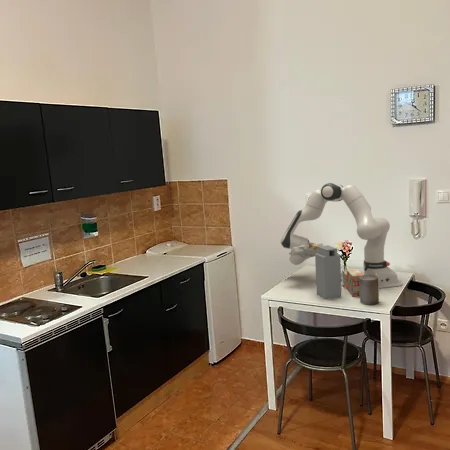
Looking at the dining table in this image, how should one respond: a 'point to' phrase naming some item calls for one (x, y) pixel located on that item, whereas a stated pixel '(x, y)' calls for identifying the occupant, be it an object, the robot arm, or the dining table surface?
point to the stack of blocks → (352, 281)
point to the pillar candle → (369, 289)
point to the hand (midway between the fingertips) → (312, 245)
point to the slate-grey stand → (328, 272)
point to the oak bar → (314, 246)
